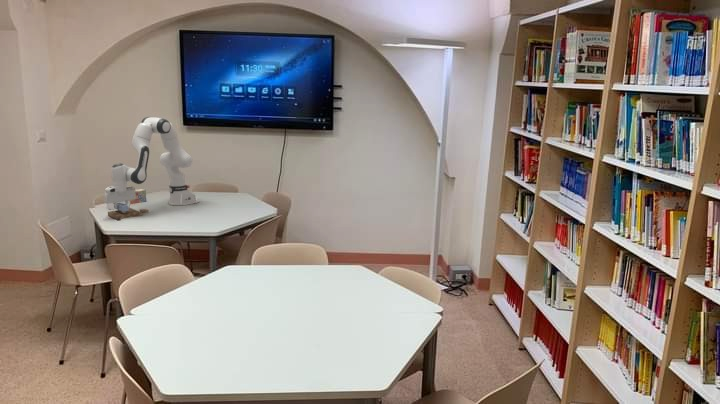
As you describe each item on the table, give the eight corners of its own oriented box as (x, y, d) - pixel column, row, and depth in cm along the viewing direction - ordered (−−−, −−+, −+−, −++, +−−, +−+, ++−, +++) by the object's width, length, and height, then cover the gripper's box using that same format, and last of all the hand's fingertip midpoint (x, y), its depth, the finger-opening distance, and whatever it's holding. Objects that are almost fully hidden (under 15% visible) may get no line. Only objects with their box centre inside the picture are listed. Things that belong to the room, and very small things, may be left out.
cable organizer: (129, 206, 377) (128, 190, 375) (130, 209, 368) (128, 193, 366) (107, 207, 371) (105, 192, 369) (107, 211, 362) (105, 195, 359)
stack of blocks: (142, 200, 397) (141, 185, 395) (146, 201, 394) (145, 186, 391) (115, 204, 381) (113, 188, 379) (119, 206, 377) (117, 189, 375)
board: (131, 212, 360) (131, 208, 359) (141, 216, 349) (141, 212, 348) (108, 215, 348) (107, 211, 348) (117, 220, 338) (117, 216, 337)
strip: (120, 209, 352) (119, 201, 351) (128, 213, 343) (128, 205, 342) (114, 210, 349) (113, 202, 348) (122, 214, 340) (122, 206, 339)
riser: (145, 212, 361) (145, 208, 361) (148, 213, 358) (148, 209, 358) (139, 213, 358) (139, 209, 358) (142, 214, 355) (142, 210, 355)
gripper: (133, 185, 352) (134, 205, 355) (102, 189, 338) (103, 209, 341) (137, 186, 348) (138, 206, 351) (105, 190, 333) (107, 211, 336)
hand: (121, 208), depth 346 cm, fingers closed on strip, 4 cm apart
